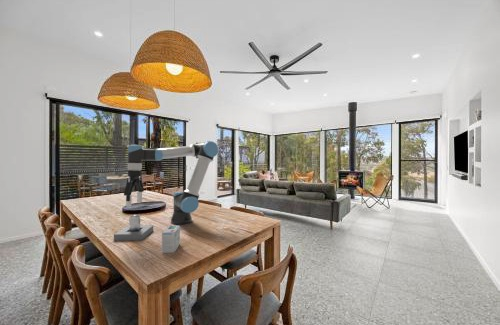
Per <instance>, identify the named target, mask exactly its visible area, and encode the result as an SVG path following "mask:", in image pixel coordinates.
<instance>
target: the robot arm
mask: <svg viewBox="0 0 500 325" xmlns="http://www.w3.org/2000/svg"><path fill="white" fill-rule="evenodd" d="M218 154H219V147H218V145H217V143H216V142H214V141H211V140H207V141H203V142H199V143H194V144H190V145H188V146H187V145H186V146H174V147H162V148H143V145H141V144H130V145H128V152H127V177H130V178H127V179H126V184H125V188H124V191H123V196H125V207H127V208H129V207H132V203H133V202H132V200H133V198H132V193H133V190H134V187H136V190H137V193H136V194H137V195H136V196H137V197H136V200H137V201H136V203H142V202H143V192H145V191H144V190H145V187H144V184H143V180H142V179H143V177H142V170H143V161H148V162H149V161H153V162H154V161H155V162H157V161H158V162H159V161H162V160H164V159H173V158H181V157H190V156H191V157H192V158H193V157H197V158H198V159H197V162H196V165H195V167H194V170H193V173H192V175H191V178H190V180H189V182H188V185H187V188H186V189H185V190H183V191H178V192H177V191H175V192H174V193H173V212H172V216H171V219H170V224H172V225H176V226H180V225H186V224H190V223H191V222H192V220H193V219H192V215H191V214H192V213H194V212H195V211H197V209H198V208H199V204H200V202H199V198H200V194H199V191H200V189H201V187H202V184H203V182H204V179H205V176H206V173H207V171H208V168H209V165H210V163H211V162H213V161H214V157H216V156H217V155H218Z"/></svg>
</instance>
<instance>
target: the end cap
mask: <svg viewBox="0 0 500 325" xmlns="http://www.w3.org/2000/svg"><path fill="white" fill-rule="evenodd" d="M128 219H129V220H128V221H129V223H128V226H129V232H138V231H140V226H141V215H140V214H132V215H129V217H128Z"/></svg>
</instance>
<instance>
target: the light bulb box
mask: <svg viewBox="0 0 500 325" xmlns="http://www.w3.org/2000/svg"><path fill="white" fill-rule="evenodd" d="M180 232H181V226H180V225H167V227H166V228H165V229H164V230H163V231H162V232H161V253H163V254H165V253H175V252H176V251H177V249H178V247H179V246H180V243H181V242H180V241H181V238H180V237H181V233H180Z"/></svg>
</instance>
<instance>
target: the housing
mask: <svg viewBox="0 0 500 325" xmlns="http://www.w3.org/2000/svg"><path fill="white" fill-rule="evenodd" d="M152 232H154V225H144V224H143V225H140V231H138V232H129V225H127V226H126V227H124V228H122V229H120V230H119V231H117V232H116V233H114V234H113V241H143V240H144V239H145V238H147V237H148V236H149V235H150V234H151V233H152Z"/></svg>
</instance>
